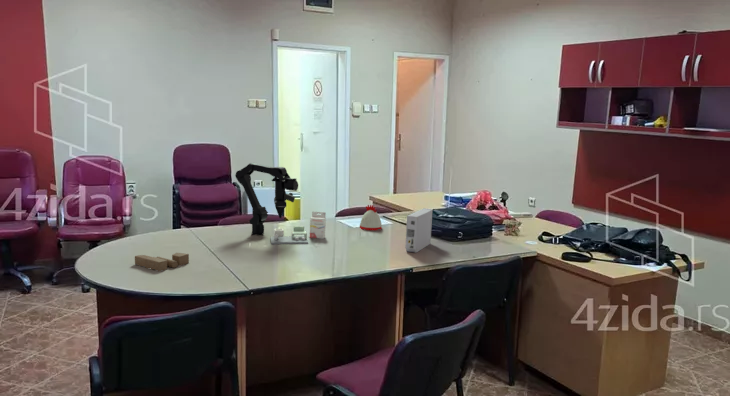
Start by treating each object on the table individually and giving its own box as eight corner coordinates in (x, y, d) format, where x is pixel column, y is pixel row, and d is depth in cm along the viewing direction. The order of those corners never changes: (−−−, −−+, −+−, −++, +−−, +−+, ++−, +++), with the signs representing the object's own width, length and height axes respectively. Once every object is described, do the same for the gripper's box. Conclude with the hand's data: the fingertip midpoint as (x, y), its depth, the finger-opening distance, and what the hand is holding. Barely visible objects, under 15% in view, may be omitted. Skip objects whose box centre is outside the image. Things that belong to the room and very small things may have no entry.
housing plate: (271, 244, 296) (271, 237, 296) (270, 238, 310) (270, 231, 309) (308, 243, 301) (308, 236, 300) (305, 237, 314) (305, 231, 314)
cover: (292, 238, 306) (292, 229, 305) (291, 235, 312) (291, 226, 311) (306, 238, 307) (307, 229, 306) (305, 235, 314) (305, 226, 313)
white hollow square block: (274, 237, 312) (274, 230, 311) (274, 235, 317) (274, 228, 316) (283, 237, 313) (283, 230, 312) (282, 235, 318) (283, 228, 317)
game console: (431, 243, 313) (433, 209, 310) (415, 253, 288) (417, 216, 285) (421, 242, 315) (423, 208, 312) (405, 252, 291) (407, 215, 287)
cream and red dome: (368, 224, 357) (369, 202, 355) (385, 228, 349) (386, 205, 347) (355, 228, 346) (356, 204, 344) (373, 231, 338) (374, 207, 336)
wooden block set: (160, 260, 240) (133, 253, 249) (160, 272, 241) (134, 265, 250) (190, 252, 254) (164, 246, 263) (190, 264, 255) (164, 257, 264)
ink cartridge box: (309, 237, 315) (309, 212, 312) (311, 235, 319) (311, 211, 317) (324, 238, 314) (324, 213, 311) (325, 236, 319) (326, 212, 316)
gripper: (295, 191, 303) (295, 219, 305) (293, 187, 321) (293, 213, 324) (275, 191, 301) (275, 219, 303) (274, 187, 319) (274, 213, 321)
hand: (280, 216), depth 313 cm, fingers open, 9 cm apart
